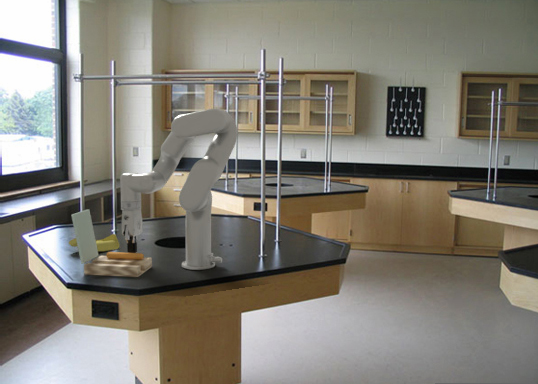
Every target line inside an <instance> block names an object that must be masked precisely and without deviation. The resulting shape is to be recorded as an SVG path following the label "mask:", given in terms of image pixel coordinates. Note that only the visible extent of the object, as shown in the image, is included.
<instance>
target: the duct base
mask: <svg viewBox="0 0 538 384" xmlns="http://www.w3.org/2000/svg"><path fill="white" fill-rule="evenodd" d="M152 259H153V258H152V257H144V258H143V259H142V260H134V259H111V258H107V256H106V255H99V256H97V257H95V258H93V259H91V263H90V262H86V263H84V264H83V274H84V275H85V276H87V275H88V276H90V275H91V276H111V277H132V278H138V277H140V276H142V275H143V274H144V273H146V272H147V271H148V270H149V269H151V268H152V267H153V263H152V262H153V260H152Z"/></svg>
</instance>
